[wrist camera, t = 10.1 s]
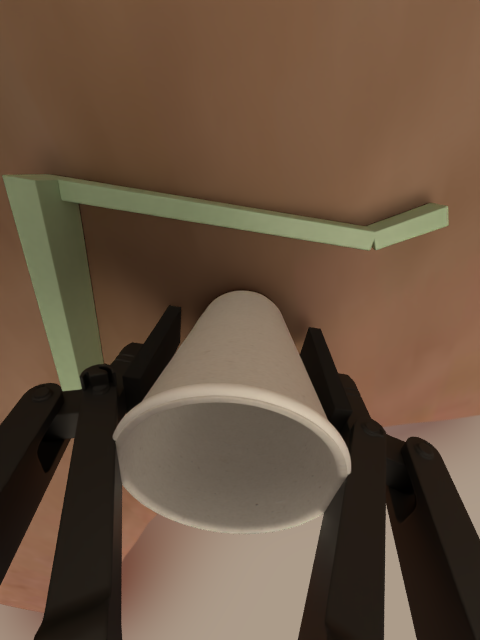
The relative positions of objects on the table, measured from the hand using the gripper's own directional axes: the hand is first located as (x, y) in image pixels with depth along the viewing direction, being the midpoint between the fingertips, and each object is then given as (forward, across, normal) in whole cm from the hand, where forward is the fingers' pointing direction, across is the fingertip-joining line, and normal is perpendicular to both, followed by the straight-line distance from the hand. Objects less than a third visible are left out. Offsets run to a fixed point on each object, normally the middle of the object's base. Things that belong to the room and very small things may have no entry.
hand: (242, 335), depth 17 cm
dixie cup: (+1, 0, 0) cm, 1 cm away
